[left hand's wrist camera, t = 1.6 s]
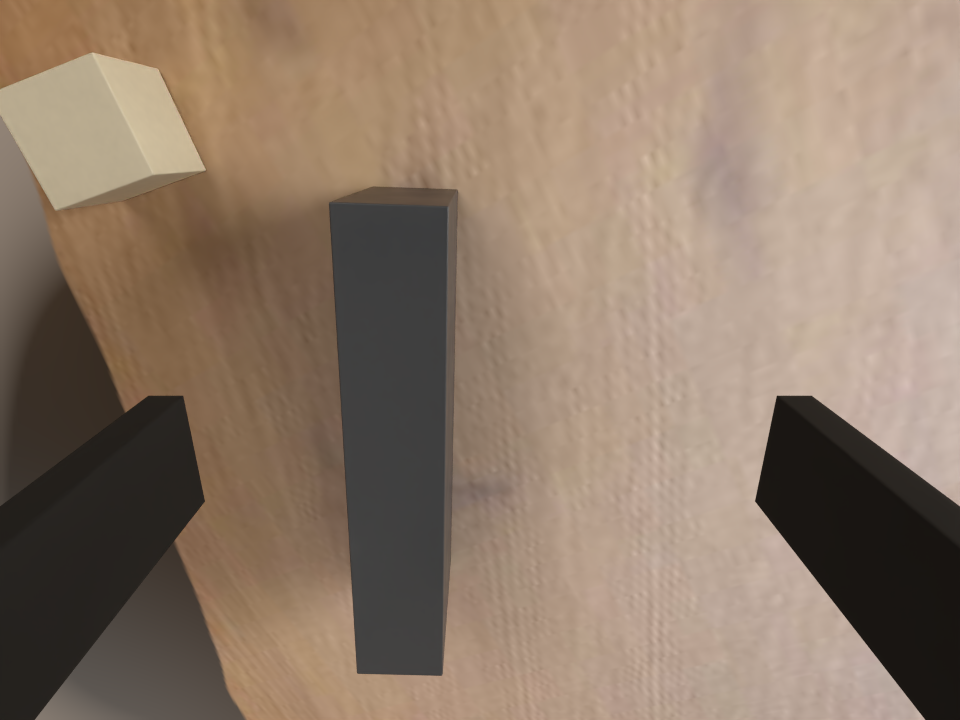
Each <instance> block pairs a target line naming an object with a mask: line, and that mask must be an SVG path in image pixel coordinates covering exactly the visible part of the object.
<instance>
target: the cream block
mask: <svg viewBox="0 0 960 720" xmlns="http://www.w3.org/2000/svg"><path fill="white" fill-rule="evenodd" d="M0 116H1V117H2V119H3V121H4V123H5V124H6V126H7V128H8V130H9V131H10V133H11V135H12V136H13V138H14V140H15V142H16V143H17V145H18V147H19V149H20V150H21V152H22V154H23V156H24V157H25V159H26V161H27V162H28V164H29V166H30V168H31V169H32V171H33V173H34V175H35V176H36V178H37V180H38V182H39V183H40V185H41V187H42V188H43V190H44V192H45V194H46V195H47V197H48V199H49V201H50V202H51V204H52V206H53V207H54V209H55V210H56V211H59V210H66V209H73V208H80V207H86V206H93V205H100V204H107V203H114V202H120V201H124V200H127V199H130V198H133V197H135V196H138V195H141V194H144V193H146V192H149V191H152V190H155V189H157V188H160V187H163V186H165V185H168V184H171V183H174V182H176V181H179V180H182V179H185V178H187V177H190V176H193V175H196V174H198V173H201V172H204V171H205V170H206V169H205V167H204V165H203V163H202V161H201V159H200V156H199V154H198V152H197V150H196V148H195V146H194V144H193V142H192V140H191V137H190V135H189V133H188V131H187V129H186V127H185V125H184V123H183V121H182V118H181V116H180V114H179V112H178V110H177V108H176V106H175V104H174V102H173V99H172V97H171V95H170V93H169V91H168V89H167V87H166V85H165V83H164V80H163V78H162V76H161V74H160V72H159V70H158V69H157V68H153V67H149V66H145V65H141V64H137V63H133V62H129V61H125V60H121V59H117V58H113V57H109V56H105V55H101V54H97V53H89V54H87V55H84V56H82V57H79V58H77V59H74V60H72V61H69V62H67V63H64V64H62V65H59V66H57V67H54V68H52V69H49V70H47V71H44V72H42V73H39V74H37V75H34V76H32V77H29V78H27V79H24V80H22V81H19V82H17V83H14V84H12V85H9V86H7V87H4V88H2V89H0Z"/></svg>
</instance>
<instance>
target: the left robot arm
mask: <svg viewBox="0 0 960 720" xmlns="http://www.w3.org/2000/svg"><path fill="white" fill-rule="evenodd" d="M204 502H205V500H204V495H203V490H202V485H201V480H200V475H199V471H198V466H197V461H196V456H195V451H194V446H193V442H192V437H191V432H190V427H189V422H188V417H187V412H186V408H185V403H184V398H183V396H148V397H146V398H145V399H144V400H142V401H141V402H139V403H138V404H137V405H135V406H134V407H133V408H131V409H130V410H129V411H127V412H126V413H125V414H123V415H122V416H121V417H119V418H118V419H117V420H115V421H114V422H113V423H111V424H110V425H109V426H107V427H106V428H105V429H103V430H102V431H101V432H99V433H98V434H97V435H95V436H94V437H93V438H91V439H90V440H89V441H87V442H86V443H85V444H83V445H82V446H81V447H79V448H78V449H77V450H75V451H74V452H73V453H71V454H70V455H68V456H67V457H66V458H65V459H63V460H62V461H60V462H59V463H58V464H57V465H55V466H54V467H52V468H51V469H50V470H48V471H47V472H46V473H44V474H43V475H42V476H40V477H39V478H38V479H36V480H35V481H34V482H32V483H31V484H30V485H28V486H27V487H26V488H24V489H23V490H22V491H20V492H19V493H18V494H16V495H15V496H14V497H12V498H11V499H10V500H8V501H7V502H6V503H4V504H3V505H2V506H0V720H35V719H36V717H37V716H38V715H39V713H40V712H41V711H42V710H43V708H44V707H45V706H46V704H47V703H48V702H49V701H50V699H51V698H52V697H53V695H54V694H55V693H56V692H57V690H58V689H59V688H60V686H61V685H62V684H63V683H64V681H65V680H66V679H67V678H68V676H69V675H70V674H71V672H72V671H73V670H74V669H75V667H76V666H77V665H78V663H79V662H80V661H81V659H82V658H83V657H84V656H85V654H86V653H87V652H88V651H89V649H90V648H91V647H92V645H93V644H94V643H95V642H96V640H97V639H98V638H99V636H100V635H101V634H102V633H103V631H104V630H105V629H106V627H107V626H108V625H109V624H110V622H111V621H112V620H113V618H114V617H115V616H116V615H117V613H118V612H119V611H120V609H121V608H122V607H123V606H124V604H125V603H126V602H127V601H128V599H129V598H130V597H131V595H132V594H133V593H134V592H135V590H136V589H137V588H138V586H139V585H140V584H141V583H142V581H143V580H144V579H145V577H146V576H147V575H148V574H149V572H150V571H151V570H152V568H153V567H154V566H155V565H156V563H157V562H158V561H159V559H160V558H161V557H162V556H163V554H164V553H165V552H166V550H167V549H168V548H169V547H170V545H171V544H172V543H173V542H174V540H175V539H176V538H177V536H178V535H179V534H180V533H181V531H182V530H183V529H184V527H185V526H186V525H187V524H188V522H189V521H190V520H191V518H192V517H193V516H194V515H195V513H196V512H197V511H198V509H199V508H200V507H201V506H202V504H203V503H204ZM755 502H756V503H757V504H758V506H759V507H760V508H761V509H762V511H763V512H764V513H765V515H766V516H767V517H768V518H769V520H770V521H771V522H772V524H773V525H774V526H775V527H776V529H777V530H778V531H779V533H780V534H781V535H782V536H783V538H784V539H785V540H786V542H787V543H788V544H789V545H790V547H791V548H792V549H793V550H794V552H795V553H796V554H797V556H798V557H799V558H800V559H801V561H802V562H803V563H804V565H805V566H806V567H807V568H808V570H809V571H810V572H811V574H812V575H813V576H814V577H815V579H816V580H817V581H818V583H819V584H820V585H821V586H822V588H823V589H824V590H825V592H826V593H827V594H828V595H829V597H830V598H831V599H832V601H833V602H834V603H835V604H836V606H837V607H838V608H839V610H840V611H841V612H842V613H843V615H844V616H845V617H846V618H847V620H848V621H849V622H850V624H851V625H852V626H853V627H854V629H855V630H856V631H857V633H858V634H859V635H860V636H861V638H862V639H863V640H864V642H865V643H866V644H867V645H868V647H869V648H870V649H871V651H872V652H873V653H874V654H875V656H876V657H877V658H878V660H879V661H880V662H881V663H882V665H883V666H884V667H885V669H886V670H887V671H888V672H889V674H890V675H891V676H892V678H893V679H894V680H895V681H896V683H897V684H898V685H899V686H900V688H901V689H902V690H903V692H904V693H905V694H906V695H907V697H908V698H909V699H910V701H911V702H912V703H913V704H914V706H915V707H916V708H917V710H918V711H919V712H920V713H921V715H922V716H923V717H924V719H925V720H960V506H958V505H957V504H956V503H954V502H953V501H952V500H950V499H949V498H948V497H946V496H945V495H944V494H942V493H941V492H940V491H938V490H937V489H936V488H934V487H933V486H932V485H930V484H929V483H928V482H926V481H925V480H924V479H922V478H921V477H920V476H918V475H917V474H916V473H914V472H913V471H912V470H910V469H909V468H908V467H906V466H905V465H904V464H902V463H901V462H900V461H898V460H897V459H896V458H894V457H893V456H891V455H890V454H889V453H887V452H886V451H885V450H883V449H882V448H881V447H879V446H878V445H877V444H875V443H874V442H873V441H871V440H870V439H869V438H867V437H866V436H865V435H863V434H862V433H861V432H859V431H858V430H857V429H855V428H854V427H853V426H851V425H850V424H849V423H847V422H846V421H845V420H843V419H842V418H841V417H839V416H838V415H837V414H835V413H834V412H833V411H831V410H830V409H829V408H827V407H826V406H825V405H823V404H822V403H821V402H819V401H818V400H816V399H815V398H814V397H812V396H777V398H776V403H775V408H774V412H773V417H772V422H771V427H770V432H769V437H768V442H767V446H766V451H765V456H764V461H763V466H762V471H761V475H760V480H759V485H758V490H757V495H756V500H755Z"/></svg>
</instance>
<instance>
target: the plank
mask: <svg viewBox="0 0 960 720" xmlns="http://www.w3.org/2000/svg"><path fill="white" fill-rule="evenodd" d="M457 201H458V191H457V190H452V189H424V188H395V187H371V188H368V189H365V190H362V191H360V192H357V193H354V194H351V195H348V196H346V197H343V198H340V199H337V200H335V201H332V202H329V211H330V228H331V245H332V262H333V278H334V295H335V312H336V329H337V345H338V362H339V379H340V396H341V412H342V429H343V446H344V462H345V479H346V496H347V513H348V529H349V546H350V563H351V580H352V596H353V613H354V630H355V646H356V663H357V673H358V674H393V675H433V676H442V674H443V660H444V646H445V632H446V618H447V604H448V590H449V576H450V562H451V519H452V466H453V413H454V360H455V307H456V254H457Z"/></svg>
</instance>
